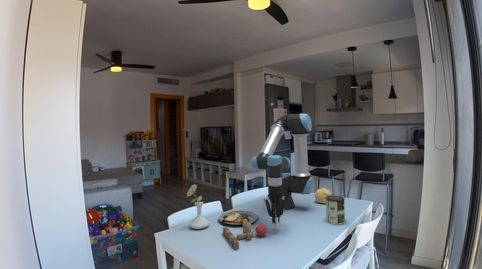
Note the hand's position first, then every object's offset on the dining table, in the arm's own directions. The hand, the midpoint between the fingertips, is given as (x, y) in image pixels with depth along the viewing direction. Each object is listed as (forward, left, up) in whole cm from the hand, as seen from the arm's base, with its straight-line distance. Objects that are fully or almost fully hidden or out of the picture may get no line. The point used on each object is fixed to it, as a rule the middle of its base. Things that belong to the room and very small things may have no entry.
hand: (276, 228), depth 135 cm
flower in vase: (-24, -37, -2) cm, 44 cm away
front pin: (0, -13, -1) cm, 13 cm away
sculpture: (-34, +57, -2) cm, 66 cm away
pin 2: (+2, -16, -2) cm, 17 cm away
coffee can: (0, +39, -2) cm, 39 cm away
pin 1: (-2, -16, -2) cm, 17 cm away
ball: (+1, -9, +1) cm, 9 cm away
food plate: (-26, -12, -3) cm, 29 cm away
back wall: (0, -26, -2) cm, 26 cm away
